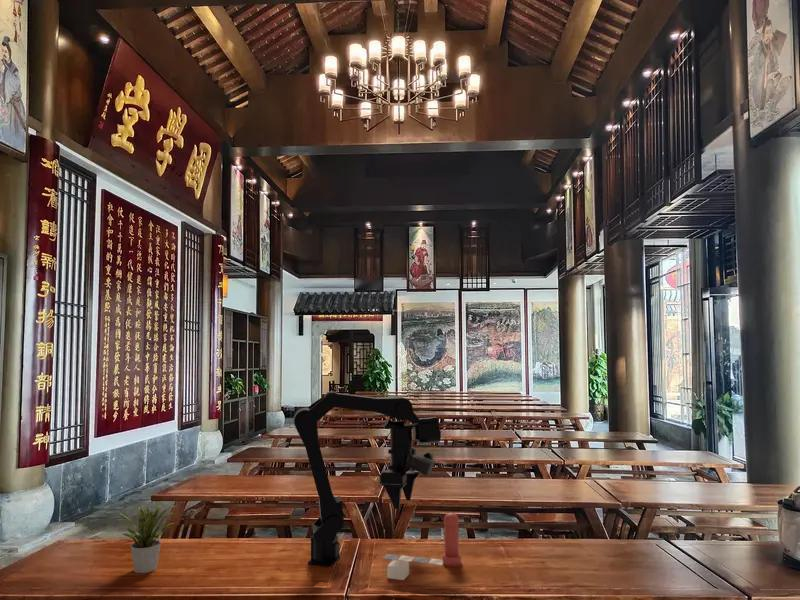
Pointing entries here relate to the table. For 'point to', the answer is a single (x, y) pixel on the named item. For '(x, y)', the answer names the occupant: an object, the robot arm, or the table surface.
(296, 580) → the table surface
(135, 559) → the house plant
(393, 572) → the white cube
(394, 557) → the track board
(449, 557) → the pawn
